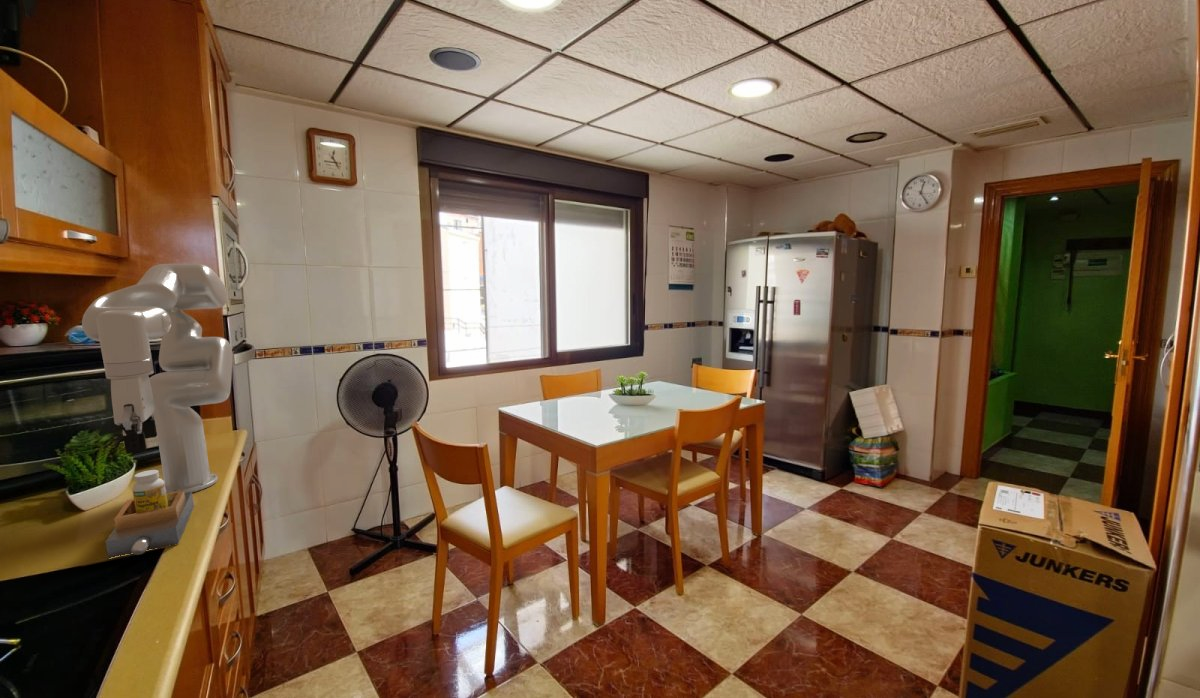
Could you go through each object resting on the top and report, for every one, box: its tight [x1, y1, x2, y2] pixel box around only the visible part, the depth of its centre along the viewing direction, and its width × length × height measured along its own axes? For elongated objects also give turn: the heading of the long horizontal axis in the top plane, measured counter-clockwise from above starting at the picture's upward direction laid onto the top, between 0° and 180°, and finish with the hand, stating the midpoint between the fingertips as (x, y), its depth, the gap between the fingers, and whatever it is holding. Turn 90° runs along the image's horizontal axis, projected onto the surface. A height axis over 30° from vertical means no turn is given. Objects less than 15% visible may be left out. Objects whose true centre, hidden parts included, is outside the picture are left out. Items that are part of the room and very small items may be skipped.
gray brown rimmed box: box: [105, 490, 195, 558], centre depth 111 cm, size 23×11×6 cm, turn 31°
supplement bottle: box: [131, 469, 168, 513], centre depth 111 cm, size 5×5×10 cm
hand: (142, 444), depth 110 cm, fingers open, 9 cm apart
